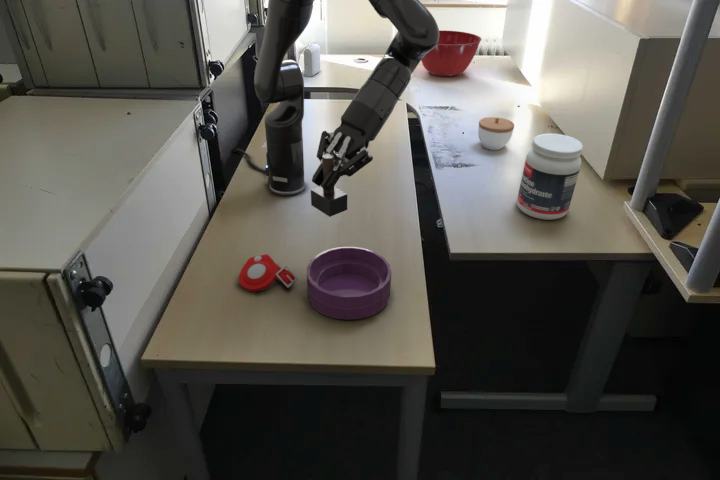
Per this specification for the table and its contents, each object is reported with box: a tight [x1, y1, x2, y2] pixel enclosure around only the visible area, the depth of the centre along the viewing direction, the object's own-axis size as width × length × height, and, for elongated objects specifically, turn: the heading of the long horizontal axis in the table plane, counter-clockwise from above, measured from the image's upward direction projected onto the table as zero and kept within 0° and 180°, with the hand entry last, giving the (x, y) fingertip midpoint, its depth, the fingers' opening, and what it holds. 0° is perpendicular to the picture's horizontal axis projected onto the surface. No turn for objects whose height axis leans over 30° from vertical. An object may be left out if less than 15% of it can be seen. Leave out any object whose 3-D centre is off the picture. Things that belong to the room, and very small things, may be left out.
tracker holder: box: [238, 253, 299, 293], centre depth 108 cm, size 12×4×10 cm
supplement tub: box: [516, 132, 584, 221], centre depth 130 cm, size 13×13×18 cm
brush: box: [310, 153, 348, 218], centre depth 102 cm, size 6×4×11 cm
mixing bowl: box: [420, 30, 482, 78], centre depth 233 cm, size 28×28×16 cm
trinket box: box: [477, 116, 515, 151], centre depth 166 cm, size 11×11×9 cm
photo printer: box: [303, 43, 321, 77], centre depth 228 cm, size 10×4×12 cm, turn 160°
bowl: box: [306, 246, 392, 320], centre depth 104 cm, size 16×16×6 cm
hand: (320, 186), depth 100 cm, fingers closed on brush, 2 cm apart
